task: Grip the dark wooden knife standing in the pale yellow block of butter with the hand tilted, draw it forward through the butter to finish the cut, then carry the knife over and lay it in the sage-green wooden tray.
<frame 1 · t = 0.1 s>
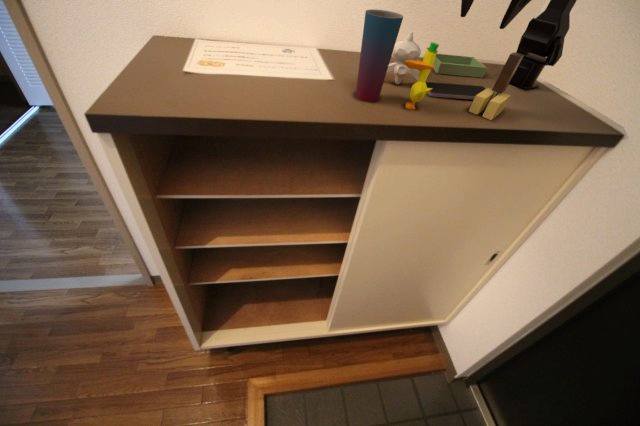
hand: (481, 22, 55), 15 cm above the table, tool pointing down, fingers open, 9 cm apart
butter: (485, 111, 62), on the table
toy figure: (408, 107, 60), on the table
figurine: (396, 85, 69), on the table
tray: (453, 69, 81), on the table
cup: (366, 97, 61), on the table
knife: (488, 108, 63), resting in butter
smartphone: (455, 94, 68), on the table
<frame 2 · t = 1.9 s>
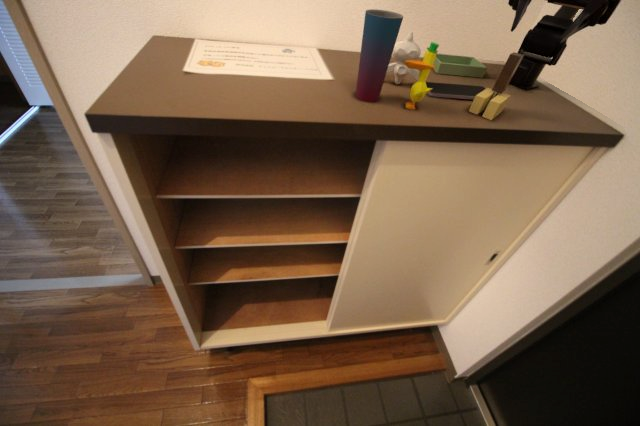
hand: (534, 35, 58), 13 cm above the table, tool tilted 45°, fingers open, 9 cm apart
nothing on the table moved.
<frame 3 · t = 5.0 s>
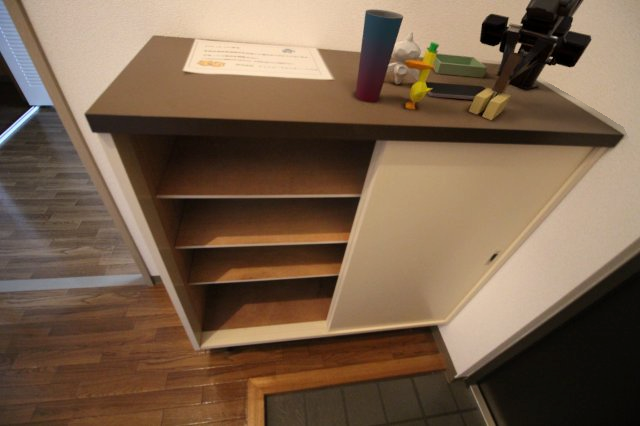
hand: (503, 76, 57), 7 cm above the table, tool tilted 45°, fingers closed on knife, 2 cm apart
knife: (488, 108, 63), resting in butter, touching gripper
everything else where it was.
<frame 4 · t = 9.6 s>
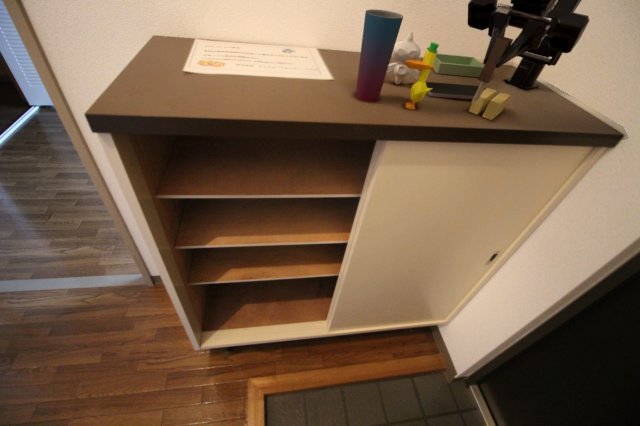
hand: (490, 64, 51), 10 cm above the table, tool tilted 45°, fingers closed on knife, 2 cm apart
knife: (475, 100, 57), point 3 cm above the table, touching gripper
everything else where it was.
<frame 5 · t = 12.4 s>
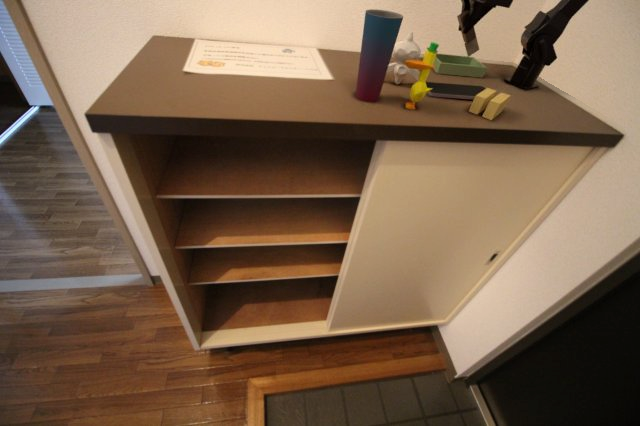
hand: (462, 32, 73), 9 cm above the table, tool pointing down, fingers closed on knife
knife: (473, 53, 77), point 5 cm above the table, tilted 40°, touching gripper
everything else where it was.
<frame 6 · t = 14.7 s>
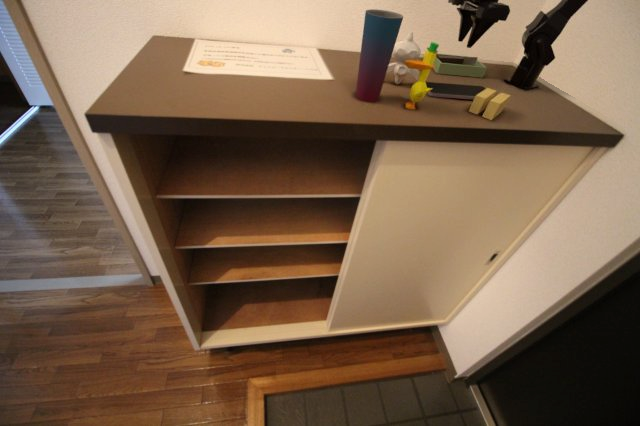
hand: (464, 44, 76), 6 cm above the table, tool pointing down, fingers open, 6 cm apart
knife: (475, 63, 80), point 2 cm above the table, tilted 92°, touching tray
everything else where it was.
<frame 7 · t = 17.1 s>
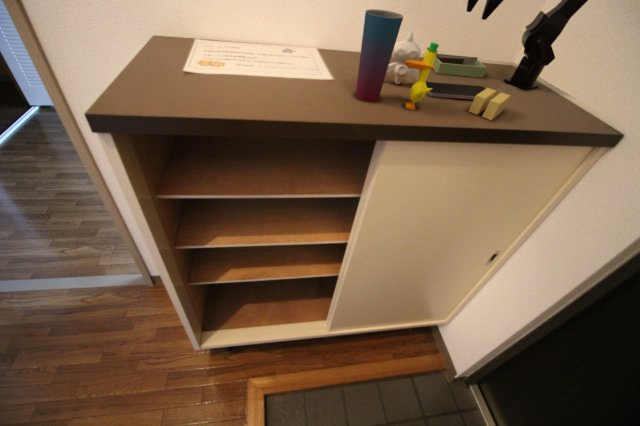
hand: (475, 15, 72), 13 cm above the table, tool pointing down, fingers open, 9 cm apart
nothing on the table moved.
at the end: knife inside the target area in the tray (5.3 cm from its centre), point 2.3 cm above the tray's base; the gripper is holding nothing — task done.
